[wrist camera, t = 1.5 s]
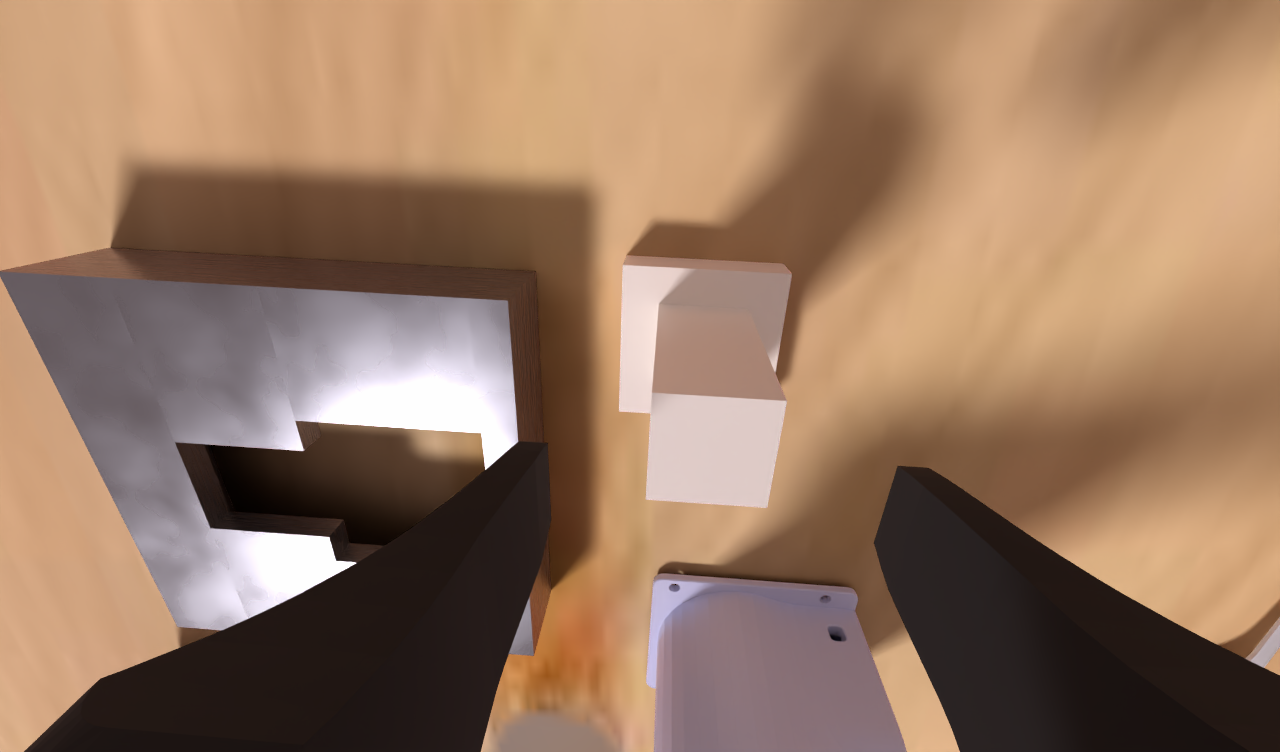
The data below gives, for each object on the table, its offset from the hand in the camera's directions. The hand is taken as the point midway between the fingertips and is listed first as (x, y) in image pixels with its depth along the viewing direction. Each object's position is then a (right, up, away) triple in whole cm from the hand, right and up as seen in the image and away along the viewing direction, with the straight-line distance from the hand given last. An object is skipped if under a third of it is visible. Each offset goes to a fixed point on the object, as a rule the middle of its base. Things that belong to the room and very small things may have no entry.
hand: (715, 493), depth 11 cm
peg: (+1, +4, +9) cm, 10 cm away
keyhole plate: (-14, 0, +12) cm, 18 cm away
